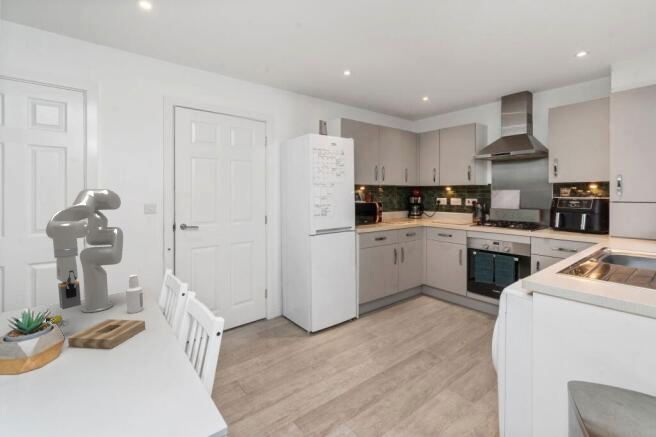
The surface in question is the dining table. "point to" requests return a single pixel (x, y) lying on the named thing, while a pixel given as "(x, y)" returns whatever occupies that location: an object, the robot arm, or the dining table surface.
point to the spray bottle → (134, 295)
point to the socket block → (106, 334)
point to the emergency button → (58, 320)
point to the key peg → (68, 302)
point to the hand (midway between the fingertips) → (69, 295)
